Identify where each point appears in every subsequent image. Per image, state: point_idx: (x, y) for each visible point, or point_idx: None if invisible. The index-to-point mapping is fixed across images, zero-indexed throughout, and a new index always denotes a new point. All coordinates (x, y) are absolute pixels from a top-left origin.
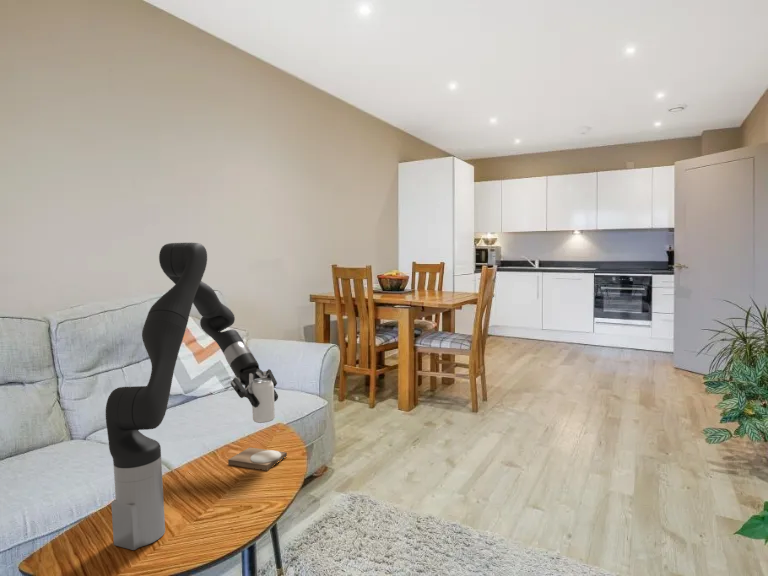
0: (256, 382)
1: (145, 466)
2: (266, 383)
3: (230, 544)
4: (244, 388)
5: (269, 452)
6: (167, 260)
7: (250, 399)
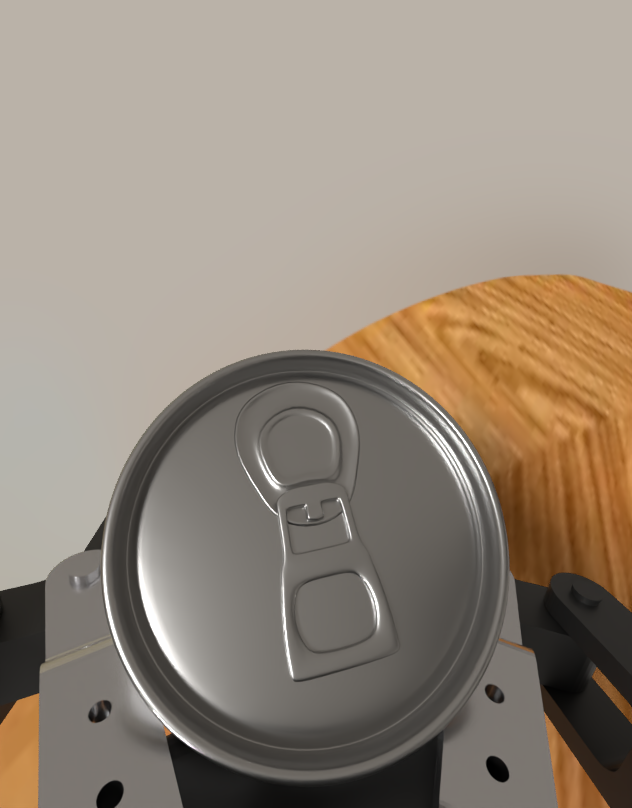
0: (489, 475)
1: None
2: (346, 372)
3: (572, 287)
4: (602, 641)
5: None
6: None
7: None
